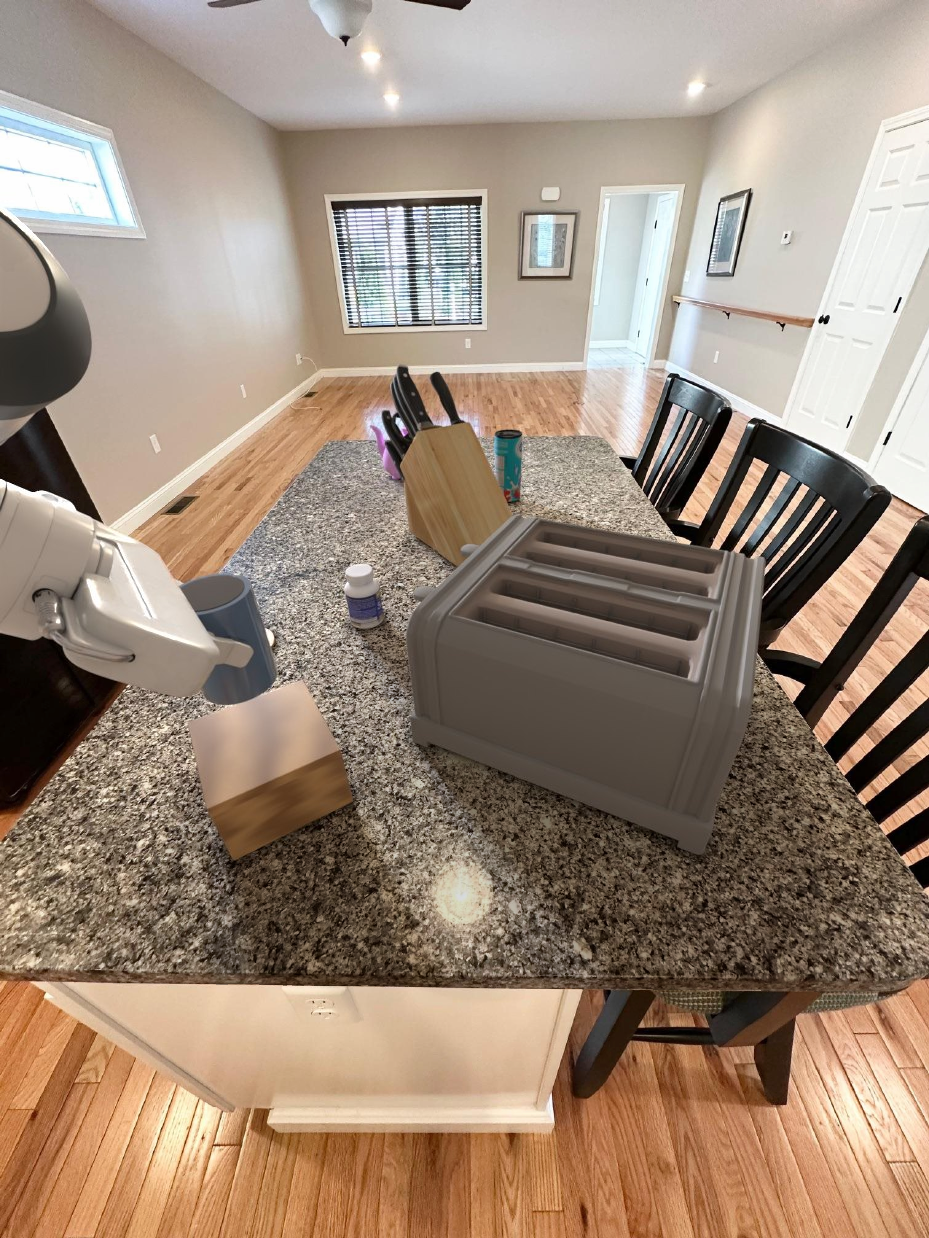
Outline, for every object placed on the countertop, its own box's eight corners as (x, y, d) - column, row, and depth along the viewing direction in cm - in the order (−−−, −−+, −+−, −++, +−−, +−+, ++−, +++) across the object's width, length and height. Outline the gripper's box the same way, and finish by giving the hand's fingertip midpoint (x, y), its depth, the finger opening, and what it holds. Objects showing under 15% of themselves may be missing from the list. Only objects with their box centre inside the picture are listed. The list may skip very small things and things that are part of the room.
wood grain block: (233, 861, 48) (206, 809, 44) (211, 773, 57) (187, 722, 52) (353, 801, 53) (340, 749, 49) (317, 728, 62) (302, 678, 57)
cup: (207, 715, 42) (167, 624, 37) (196, 673, 46) (159, 586, 41) (286, 686, 44) (259, 597, 39) (268, 649, 49) (242, 565, 44)
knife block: (433, 506, 116) (422, 354, 99) (531, 568, 92) (540, 381, 74) (388, 518, 112) (368, 361, 94) (479, 587, 87) (475, 392, 69)
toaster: (492, 602, 83) (492, 500, 73) (732, 662, 69) (772, 547, 59) (383, 730, 61) (362, 609, 51) (702, 857, 47) (758, 724, 37)
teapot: (361, 479, 132) (354, 431, 125) (389, 462, 143) (384, 417, 136) (430, 488, 126) (427, 438, 119) (454, 470, 136) (452, 422, 129)
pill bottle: (387, 624, 79) (380, 574, 74) (354, 633, 77) (344, 582, 72) (379, 607, 83) (372, 558, 78) (347, 615, 81) (337, 565, 76)
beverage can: (517, 506, 115) (519, 437, 107) (491, 503, 117) (491, 436, 108) (522, 496, 120) (525, 430, 111) (498, 494, 121) (498, 428, 113)
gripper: (72, 588, 26) (300, 660, 36) (44, 484, 39) (216, 558, 49) (10, 694, 26) (254, 736, 36) (4, 555, 39) (183, 614, 50)
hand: (231, 632), depth 43 cm, fingers closed on cup, 6 cm apart
